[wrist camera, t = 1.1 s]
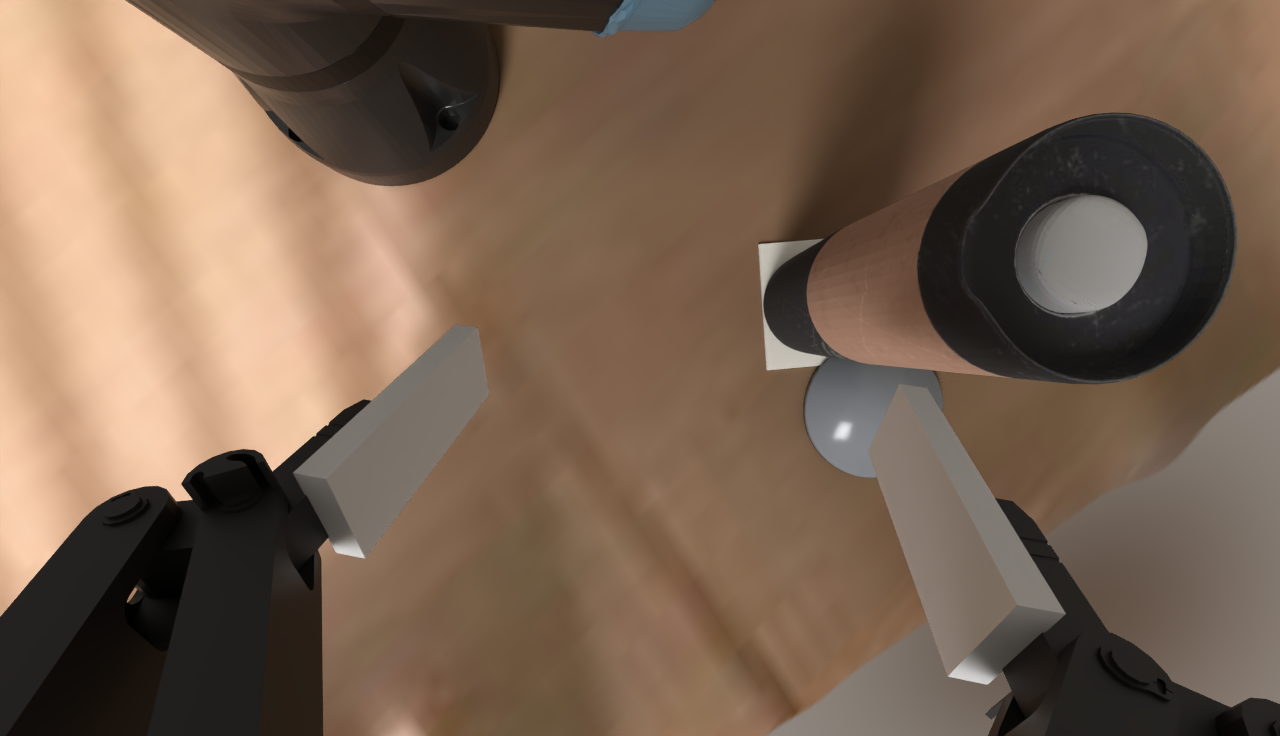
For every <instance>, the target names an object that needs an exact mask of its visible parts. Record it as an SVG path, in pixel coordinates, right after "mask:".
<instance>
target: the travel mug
mask: <svg viewBox="0 0 1280 736" xmlns="http://www.w3.org/2000/svg"><path fill="white" fill-rule="evenodd" d="M1236 250H1237V227H1236V219H1235V212H1234V208H1233V204H1232V200H1231V197H1230V194H1229V191H1228V189H1227V187H1226V184H1225V182H1224V179H1223V178H1222V176H1221V174H1220V172H1219V171H1218V169H1217V167H1216V166H1215V164H1214V163H1213V162H1212V160H1211V159H1210V158H1209V156H1208V155H1207V154H1206V153H1205V151H1204V150H1203V149H1201V148H1200V147H1199V146H1198V145H1197V144H1196V143H1195V142H1194V141H1193V140H1192V139H1191V138H1189V137H1188V136H1186V135H1185V134H1184V133H1182V132H1181V131H1179V130H1178V129H1176V128H1174V127H1172V126H1170V125H1168V124H1166V123H1164V122H1162V121H1159V120H1156V119H1153V118H1150V117H1147V116H1141V115H1136V114H1131V113H1103V114H1093V115H1088V116H1084V117H1079V118H1075V119H1072V120H1069V121H1066V122H1064V123H1061V124H1058V125H1056V126H1053V127H1051V128H1048V129H1046V130H1044V131H1042V132H1040V133H1038V134H1036V135H1034V136H1031V137H1029V138H1027V139H1025V140H1023V141H1021V142H1019V143H1017V144H1015V145H1013V146H1011V147H1009V148H1007V149H1005V150H1003V151H1001V152H998V153H996V154H994V155H992V156H990V157H988V158H986V159H984V160H982V161H980V162H978V163H976V164H974V165H972V166H970V167H967V168H965V169H963V170H961V171H959V172H957V173H955V174H953V175H951V176H949V177H947V178H945V179H943V180H941V181H939V182H936V183H934V184H932V185H930V186H928V187H926V188H924V189H922V190H920V191H918V192H916V193H914V194H912V195H910V196H908V197H905V198H903V199H901V200H899V201H897V202H895V203H893V204H891V205H889V206H887V207H885V208H883V209H881V210H879V211H876V212H874V213H872V214H870V215H868V216H866V217H864V218H862V219H860V220H858V221H856V222H854V223H852V224H850V225H848V226H846V227H844V228H842V229H841V230H839V231H837V232H835V233H834V234H832V235H830V236H828V237H827V238H825V239H823V240H822V241H820V242H818V243H816V244H815V245H813V246H811V247H809V248H808V249H806V250H804V251H803V252H801V253H799V254H797V255H796V256H794V257H792V258H791V259H789V260H788V261H786V262H785V263H784V264H782V265H781V266H780V267H779V268H778V269H777V270H776V271H775V273H774V274H773V275H772V277H771V278H770V280H769V282H768V284H767V287H766V290H765V294H764V301H763V308H764V315H765V319H766V322H767V324H768V326H769V328H770V330H771V332H772V333H773V335H774V336H775V337H776V338H777V339H778V340H779V341H780V342H781V343H783V344H784V345H786V346H787V347H789V348H791V349H793V350H796V351H799V352H803V353H808V354H813V355H819V356H825V357H831V358H836V359H842V360H848V361H854V362H859V363H865V364H873V365H884V366H894V367H904V368H915V369H925V370H935V371H946V372H956V373H967V374H977V375H987V376H998V377H1008V378H1018V379H1028V380H1039V381H1049V382H1059V383H1070V384H1104V383H1114V382H1119V381H1124V380H1128V379H1132V378H1135V377H1138V376H1141V375H1143V374H1146V373H1149V372H1151V371H1153V370H1155V369H1157V368H1159V367H1161V366H1163V365H1165V364H1167V363H1168V362H1169V361H1171V360H1172V359H1174V358H1175V357H1177V356H1178V355H1180V354H1181V353H1182V352H1183V351H1184V350H1185V349H1187V348H1188V347H1189V346H1190V345H1191V344H1192V343H1193V342H1194V341H1195V340H1196V339H1197V338H1198V337H1199V336H1200V335H1201V333H1202V332H1203V331H1204V330H1205V329H1206V327H1207V326H1208V324H1209V323H1210V322H1211V320H1212V319H1213V317H1214V316H1215V314H1216V312H1217V311H1218V309H1219V307H1220V305H1221V303H1222V301H1223V299H1224V297H1225V294H1226V292H1227V289H1228V287H1229V284H1230V281H1231V277H1232V273H1233V269H1234V265H1235V257H1236Z"/></svg>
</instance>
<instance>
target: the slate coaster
mask: <svg viewBox="0 0 1280 736" xmlns="http://www.w3.org/2000/svg"><path fill="white" fill-rule="evenodd" d="M899 384H902V385H910V386H917V387H925V388H927V389H928V390H929V392H930V394H931V395H932V397H933V398H934V400H935V402H936V403H937V405H938V407H939V408H940V410H941V411H942V413H943V400H942V393H941V389H940V385H939V382H938V380H937V377H936V376H935V374H934V372H933V370H925V369H915V368H904V367H894V366H884V365H873V364H865V363H859V362H854V361H848V360H842V359H836V358H831V357H829V358H827V359H826V360H825V361H824V363H823V364H822V365H820V366H819V367H818V368H817V370H816V371H815V373H814V374H813V376H812V378H811V380H810V382H809V384H808V387H807V390H806V393H805V397H804V404H803V416H804V424H805V427H806V431H807V434H808V436H809V439H810V441H811V442H812V444H813V446H814V447H815V449H816V450H817V451H818V452H819V454H820V455H821V456H822V457H823V458H824V459H825V460H827V461H828V462H829V463H831V464H832V465H834V466H835V467H837V468H839V469H841V470H842V471H844V472H847V473H849V474H852V475H856V476H860V477H877V476H876V473H875V471H874V468H873V465H872V462H871V459H870V456H869V454H868V451H869V449H870V447H871V444H872V442H873V440H874V438H875V436H876V434H877V431H878V429H879V427H880V425H881V423H882V421H883V418H884V416H885V414H886V412H887V410H888V408H889V405H890V403H891V401H892V399H893V397H894V395H895V393H896V390H897V388H898V386H899Z"/></svg>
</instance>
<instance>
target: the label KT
mask: <svg viewBox="0 0 1280 736" xmlns="http://www.w3.org/2000/svg"><path fill="white" fill-rule="evenodd" d="M822 240H823V239H816V240H804V241H792V242H780V243H767V244H758V250H759V265H760V280H761V295H762V310H763V326H764V341H765V356H766V370H775V369H786V368H798V367H809V366H820V365H822V364H823V363H824V361H825V360H826V359H827V358H829V357H825V356H819V355H813V354H808V353H803V352H799V351H796V350H793V349H791V348H789V347H787V346H786V345H784V344H783V343H781V342H780V341H779V340H778V339H777V338H776V337H775V336H774V335H773V333H772V332H771V330H770V328H769V326H768V324H767V322H766V319H765V315H764V308H763V301H764V294H765V290H766V287H767V284H768V282H769V280H770V278H771V277H772V275H773V274H774V273H775V271H776V270H777V269H778V268H779V267H780V266H781V265H782V264H784V263H785V262H786V261H788V260H789V259H791V258H792V257H794V256H796V255H797V254H799V253H801V252H803V251H804V250H806V249H808V248H809V247H811V246H813V245H815V244H816V243H818V242H820V241H822Z"/></svg>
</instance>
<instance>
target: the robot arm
mask: <svg viewBox="0 0 1280 736" xmlns="http://www.w3.org/2000/svg"><path fill="white" fill-rule="evenodd" d="M126 1H127V2H129V3H130V4H132V5H133V6H135V7H136V8H138V9H139V10H141V11H142V12H144V13H145V14H147V15H148V16H150V17H151V18H153V19H154V20H156V21H157V22H159V23H160V24H162V25H163V26H165V27H166V28H168V29H169V30H171V31H172V32H174V33H176V34H177V35H179V36H180V37H182V38H183V39H185V40H186V41H188V42H189V43H191V44H192V45H194V46H195V47H197V48H198V49H200V50H201V51H203V52H204V53H206V54H207V55H209V56H210V57H212V58H213V59H215V60H216V61H218V62H219V63H221V64H222V65H224V66H225V67H227V68H228V69H230V70H231V71H232V72H233V73H234V74H235V76H236V77H237V78H238V79H239V81H240V82H241V83H242V84H243V86H244V87H245V88H246V89H247V90H248V92H249V93H250V94H251V95H252V97H253V98H254V99H255V100H256V102H257V103H258V104H259V105H260V106H261V107H262V108H263V109H264V110H265V112H266V113H267V115H268V116H269V118H270V119H271V120H272V121H273V122H274V124H275V125H276V126H277V127H278V128H279V130H280V131H281V132H282V133H283V134H284V135H285V136H286V137H287V138H288V139H289V140H290V141H291V142H292V143H294V144H295V145H296V146H297V147H298V148H300V149H301V150H302V151H303V152H305V153H306V154H308V155H309V156H311V157H312V158H314V159H316V160H317V161H319V162H321V163H322V164H324V165H326V166H328V167H329V168H331V169H333V170H335V171H337V172H338V173H340V174H342V175H345V176H347V177H349V178H352V179H355V180H357V181H361V182H365V183H369V184H374V185H382V186H402V185H410V184H415V183H419V182H423V181H426V180H429V179H431V178H434V177H436V176H438V175H440V174H442V173H444V172H446V171H447V170H449V169H450V168H452V167H453V166H455V165H456V164H457V163H459V162H460V161H461V160H462V159H463V158H464V157H466V156H467V155H468V153H469V152H470V151H471V150H472V149H473V148H474V147H475V145H476V144H477V143H478V141H479V140H480V138H481V137H482V135H483V134H484V132H485V130H486V128H487V126H488V124H489V122H490V120H491V117H492V115H493V111H494V108H495V105H496V100H497V95H498V88H499V63H498V56H497V51H496V46H495V43H494V39H493V36H492V33H491V31H490V28H489V26H488V24H497V25H512V26H526V27H541V28H555V29H570V30H584V31H592V33H593V34H594V35H596V36H599V37H605V36H606V35H611V36H612V35H613V34H615V33H616V32H617V31H676V30H678V29H682V28H684V27H686V26H687V25H689V24H690V23H691V22H692V21H694V20H697V19H699V18H700V17H701V16H703V15H704V14H705V13H706V12H707V11H708V10H709V8H710V7H711V6H712V5H713V3H714V2H715V1H716V0H126ZM488 395H489V390H488V384H487V379H486V373H485V367H484V361H483V355H482V349H481V343H480V338H479V332H478V327H471V326H464V325H457V324H456V325H455V326H453V327H452V328H451V329H450V330H449V331H448V332H447V333H446V334H445V335H444V336H442V337H441V338H440V339H439V340H438V341H437V342H436V343H435V344H434V345H433V346H432V347H430V348H429V349H428V350H427V351H426V352H425V353H424V354H423V355H422V356H421V357H419V358H418V359H417V360H416V361H415V362H414V363H413V364H412V365H411V366H410V367H408V368H407V369H406V370H405V371H404V372H403V373H402V374H401V375H400V376H399V377H397V378H396V379H395V380H394V381H393V382H392V383H391V384H390V385H389V386H388V387H387V388H385V389H384V390H383V391H382V392H381V393H380V394H379V395H378V396H377V397H376V398H374V399H373V400H372V401H370V400H362V401H360V402H358V403H356V404H354V405H352V406H350V407H348V408H346V409H344V410H343V411H342V412H341V413H340V414H338V415H337V416H336V417H335V418H334V419H333V420H332V421H330V422H329V425H328V426H325V427H323V428H322V429H321V430H320V431H319V432H318V433H317V435H316V437H314V436H313V437H312V438H311V439H310V440H308V441H307V442H306V443H305V444H304V445H303V446H302V447H300V448H299V449H298V450H297V451H296V452H295V453H294V454H292V455H291V456H290V457H289V458H288V459H287V460H285V461H284V462H283V463H282V464H281V465H280V466H279V467H277V468H276V469H275V470H274V471H273V472H272V470H271V469H270V467H269V465H268V463H267V462H266V460H265V458H264V457H263V455H262V454H261V453H259V452H257V451H255V450H246V449H241V450H235V451H229V452H226V453H223V454H220V455H217V456H215V457H212V458H210V459H208V460H207V461H205V462H203V463H201V464H199V465H198V466H197V467H195V468H194V469H193V470H192V471H191V472H189V473H188V474H187V475H186V477H185V479H184V480H183V482H182V483H181V485H182V486H183V487H184V489H185V490H186V491H187V492H188V494H189V495H190V496H191V498H192V499H193V500H188V501H177V502H176V501H175V499H174V498H173V497H172V496H171V494H170V493H169V492H168V491H167V489H164V488H162V487H159V486H148V487H141V488H137V489H133V490H129V491H127V492H124V493H121V494H119V495H117V496H115V497H112V498H110V499H109V500H107V501H105V502H104V503H102V504H101V505H99V506H97V507H96V508H95V509H94V510H92V511H91V512H90V513H89V514H88V515H87V516H86V517H85V518H84V519H83V520H82V521H81V522H80V524H79V525H78V526H77V527H76V528H75V530H74V531H73V532H72V533H71V534H70V535H69V537H68V538H67V539H66V540H65V541H64V542H63V544H62V545H61V546H60V547H59V548H58V550H57V551H56V552H55V553H54V554H53V555H52V557H51V558H50V559H49V560H48V561H47V563H46V564H45V565H44V566H43V567H42V568H41V570H40V571H39V572H38V573H37V574H36V575H35V577H34V578H33V579H32V580H31V581H30V583H29V584H28V585H27V586H26V587H25V588H24V590H23V591H22V592H21V593H20V594H19V596H18V597H17V598H16V599H15V600H14V601H13V603H12V604H11V605H10V606H9V607H8V608H7V610H6V611H5V612H4V613H3V614H2V616H1V617H0V736H323V680H322V586H321V557H320V554H319V552H318V549H319V547H320V546H321V545H322V544H323V543H324V542H325V541H326V539H327V538H329V540H330V542H331V544H332V546H333V548H334V549H335V551H336V553H340V554H345V555H350V556H355V557H360V558H366V557H367V556H368V554H369V553H370V552H371V550H372V549H373V548H374V546H375V545H376V544H377V542H378V541H379V540H380V538H381V537H382V536H383V535H384V533H385V532H386V531H387V529H388V528H389V527H390V525H391V524H392V523H393V521H394V520H395V519H396V517H397V516H398V515H399V513H400V512H401V511H402V509H403V508H404V507H405V505H406V504H407V503H408V501H409V500H410V499H411V497H412V496H413V495H414V493H415V492H416V491H417V489H418V488H419V487H420V486H421V484H422V483H423V482H424V480H425V479H426V478H427V476H428V475H429V474H430V472H431V471H432V470H433V468H434V467H435V466H436V464H437V463H438V462H439V460H440V459H441V458H442V456H443V455H444V454H445V452H446V451H447V450H448V448H449V447H450V446H451V444H452V443H453V442H454V440H455V439H456V438H457V437H458V435H459V434H460V433H461V431H462V430H463V429H464V427H465V426H466V425H467V423H468V422H469V421H470V419H471V418H472V417H473V415H474V414H475V413H476V411H477V410H478V409H479V407H480V406H481V405H482V403H483V402H484V401H485V399H486V398H487V397H488ZM868 454H869V456H870V459H871V462H872V465H873V468H874V471H875V473H876V476H877V479H878V482H879V485H880V487H881V490H882V493H883V496H884V499H885V501H886V504H887V507H888V510H889V513H890V515H891V518H892V521H893V524H894V527H895V530H896V532H897V535H898V538H899V541H900V544H901V546H902V549H903V552H904V555H905V558H906V560H907V563H908V566H909V569H910V572H911V575H912V577H913V580H914V583H915V586H916V589H917V591H918V594H919V597H920V600H921V603H922V605H923V608H924V611H925V614H926V617H927V620H928V622H929V625H930V628H931V631H932V634H933V636H934V639H935V642H936V645H937V648H938V650H939V653H940V656H941V659H942V662H943V664H944V667H945V670H946V673H947V676H948V677H953V678H958V679H963V680H968V681H973V682H978V683H983V684H989V683H990V682H991V681H992V680H993V679H994V678H995V677H996V676H998V674H1000V673H1001V672H1002V671H1003V672H1004V674H1005V676H1006V679H1007V681H1008V683H1009V685H1010V687H1011V690H1012V691H1011V692H1010V693H1009V694H1008V695H1006V696H1005V697H1004V698H1003V699H1002V700H1000V701H999V702H998V703H997V704H996V705H995V706H993V707H992V708H991V709H990V710H989V711H988V712H987V713H986V715H987V716H988V717H989V718H990V719H992V718H994V717H995V716H996V715H997V716H996V718H995V721H994V723H993V726H992V728H991V730H990V732H989V735H988V736H1280V704H1278V703H1275V702H1273V701H1270V700H1267V699H1259V698H1249V699H1247V700H1245V701H1243V702H1241V703H1239V704H1237V705H1235V706H1233V707H1228V706H1226V705H1224V704H1221V703H1219V702H1217V701H1214V700H1212V699H1210V698H1208V697H1206V696H1204V695H1201V694H1199V693H1197V692H1194V691H1192V690H1190V689H1187V688H1185V687H1183V686H1181V685H1179V684H1176V683H1174V682H1172V681H1171V680H1170V678H1169V676H1168V675H1167V673H1165V672H1164V670H1163V669H1162V668H1161V667H1160V666H1159V665H1158V664H1157V663H1156V662H1155V661H1154V660H1153V659H1152V658H1151V657H1150V656H1149V655H1147V654H1146V653H1145V652H1143V651H1142V650H1141V649H1139V648H1138V647H1137V646H1135V645H1134V644H1132V643H1131V642H1129V641H1127V640H1125V639H1123V638H1121V637H1119V636H1117V635H1115V634H1113V633H1109V632H1108V630H1107V629H1106V628H1105V626H1104V625H1103V623H1102V622H1101V620H1100V619H1099V617H1098V616H1097V614H1096V613H1095V611H1094V610H1093V608H1092V607H1091V605H1090V604H1089V602H1088V601H1087V599H1086V598H1085V596H1084V595H1083V593H1082V592H1081V590H1080V589H1079V587H1078V586H1077V584H1076V583H1075V581H1074V580H1073V578H1072V577H1071V576H1070V574H1069V573H1068V571H1067V569H1066V568H1065V566H1064V565H1063V564H1062V563H1059V558H1058V556H1057V555H1056V553H1055V552H1054V550H1053V549H1052V547H1051V546H1050V545H1048V544H1047V540H1046V538H1045V537H1044V535H1043V534H1042V532H1041V531H1040V529H1039V528H1038V526H1037V525H1036V523H1035V522H1034V520H1033V519H1031V518H1030V517H1029V516H1028V515H1027V514H1026V513H1025V512H1024V511H1023V510H1022V509H1020V508H1019V507H1018V506H1017V505H1016V504H1015V503H1014V502H1013V501H1009V500H1002V499H996V498H994V496H993V494H992V493H991V491H990V490H989V488H988V486H987V485H986V483H985V481H984V480H983V478H982V477H981V475H980V473H979V472H978V470H977V468H976V467H975V465H974V464H973V462H972V460H971V459H970V457H969V455H968V454H967V452H966V451H965V449H964V447H963V446H962V444H961V442H960V441H959V439H958V438H957V436H956V434H955V433H954V431H953V429H952V428H951V426H950V424H949V423H948V421H947V420H946V418H945V416H944V415H943V413H942V411H941V410H940V408H939V407H938V405H937V403H936V402H935V400H934V398H933V397H932V395H931V394H930V392H929V390H928V389H927V388H925V387H917V386H910V385H902V384H899V386H898V388H897V390H896V393H895V395H894V397H893V399H892V401H891V403H890V405H889V408H888V410H887V412H886V414H885V416H884V418H883V421H882V423H881V425H880V427H879V429H878V431H877V434H876V436H875V438H874V440H873V442H872V444H871V447H870V449H869V451H868ZM134 588H136V589H138V590H137V591H136V593H135V594H134V596H133V597H132V599H131V600H130V601H129V602H128V603H127V600H128V597H129V595H130V594H131V592H132V591H133V589H134Z"/></svg>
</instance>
